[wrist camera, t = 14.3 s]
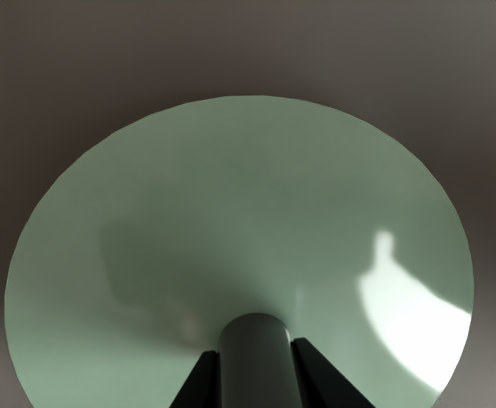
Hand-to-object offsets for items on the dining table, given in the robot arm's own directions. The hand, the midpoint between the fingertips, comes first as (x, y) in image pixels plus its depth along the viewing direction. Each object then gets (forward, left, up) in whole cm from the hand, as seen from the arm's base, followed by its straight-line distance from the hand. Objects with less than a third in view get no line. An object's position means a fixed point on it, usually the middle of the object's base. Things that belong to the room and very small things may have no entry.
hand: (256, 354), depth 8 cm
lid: (0, 0, -1) cm, 1 cm away
